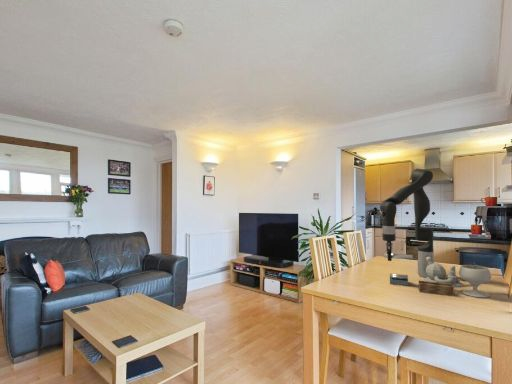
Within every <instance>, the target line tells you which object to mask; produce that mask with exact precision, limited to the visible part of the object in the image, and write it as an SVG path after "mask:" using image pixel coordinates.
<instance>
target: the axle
mask: <svg viewBox="0 0 512 384" xmlns="http://www.w3.org/2000/svg"><path fill="white" fill-rule="evenodd" d="M383 257H384V259H388V255H387V252H386V253H385V252H384V253H383ZM391 257H392V259H396V260H397V259H399V260H400V259H401V260H414V255H413V254H404V253H392V255H391Z"/></svg>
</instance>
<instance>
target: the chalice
mask: <svg viewBox="0 0 512 384" xmlns="http://www.w3.org/2000/svg"><path fill="white" fill-rule="evenodd" d="M458 276H459V277H460V278H461V279H462V280H463V281H464V280H465V281H464V282H466V281H467V283H469V284H470V285H471V286H472V289H464V290H461V293H462V294H464V295H467V296H470V297H473V298H474V297H475V298H490V296H491V295H490V294H489V293H487V292H484V291H480V290H478V287H479V286H480V285H483V284H484V285H485V284H486V283H489V282H490V281H491V279H492V274H491V271H490V269H489V268H488V267H486V266H482V265H477V264H475V265H473V264H470V265H469V264H462V265H460V267H459V270H458Z"/></svg>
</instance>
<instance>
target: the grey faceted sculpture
mask: <svg viewBox="0 0 512 384" xmlns="http://www.w3.org/2000/svg"><path fill="white" fill-rule="evenodd" d="M426 260H427V261H428V263H429V265H428V266H427V268H426V273H427V275H428V277H424V279H423V280H422V281H428V282H438V283H447V284H452V286H453V287H454V288H457V289H458V288H459V289H460V288H462V287H464V284H463V282H461V279H460V278H459V275H456V265H451V266H450V268H449V269H450V270H447V271H446V269H445V267H444V266H443V265H442V264H440V263H436V262H435V261H434V262H433V261H432V259H431V258H430V257H427V258H426Z"/></svg>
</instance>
